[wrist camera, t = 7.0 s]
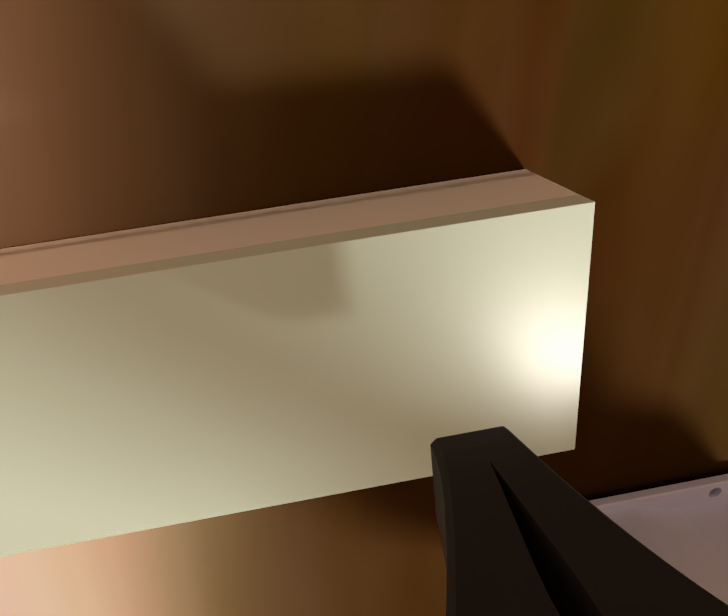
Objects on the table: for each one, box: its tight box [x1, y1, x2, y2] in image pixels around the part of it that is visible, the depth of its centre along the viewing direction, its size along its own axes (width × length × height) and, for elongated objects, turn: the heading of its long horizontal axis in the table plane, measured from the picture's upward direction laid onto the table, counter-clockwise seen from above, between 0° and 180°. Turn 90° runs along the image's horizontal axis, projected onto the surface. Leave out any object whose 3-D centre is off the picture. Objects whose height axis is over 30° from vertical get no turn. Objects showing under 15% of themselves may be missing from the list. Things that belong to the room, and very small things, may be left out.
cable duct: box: [0, 169, 579, 285], centre depth 14 cm, size 20×7×3 cm, turn 97°
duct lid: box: [0, 195, 595, 557], centre depth 12 cm, size 20×7×1 cm, turn 97°
